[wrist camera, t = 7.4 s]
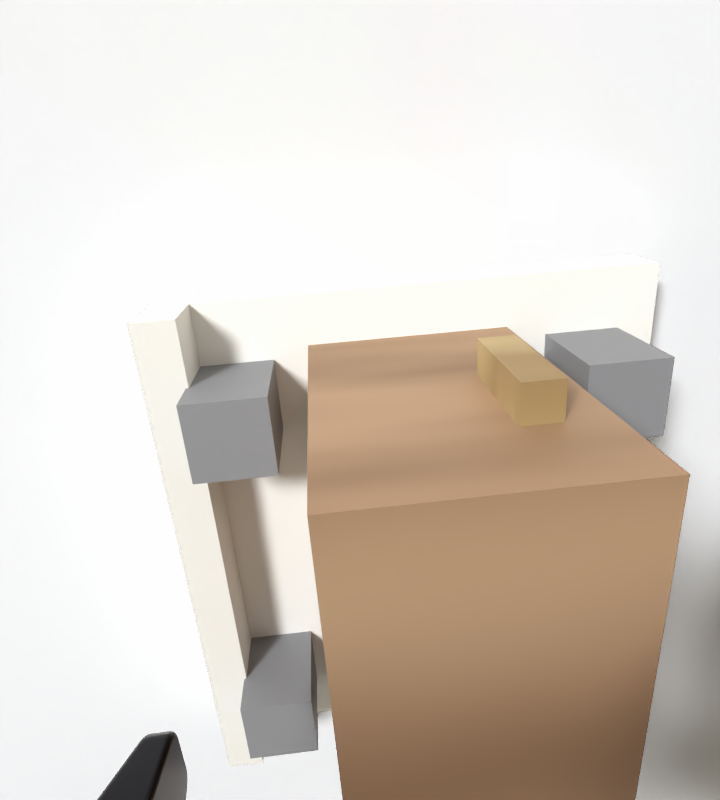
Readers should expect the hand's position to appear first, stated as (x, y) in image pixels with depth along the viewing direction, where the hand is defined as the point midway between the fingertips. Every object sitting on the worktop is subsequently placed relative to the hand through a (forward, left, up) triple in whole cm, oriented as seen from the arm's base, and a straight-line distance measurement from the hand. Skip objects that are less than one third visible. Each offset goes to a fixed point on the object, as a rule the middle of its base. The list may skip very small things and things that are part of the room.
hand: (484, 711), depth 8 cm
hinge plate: (0, 0, -6) cm, 6 cm away
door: (0, 0, -5) cm, 5 cm away
